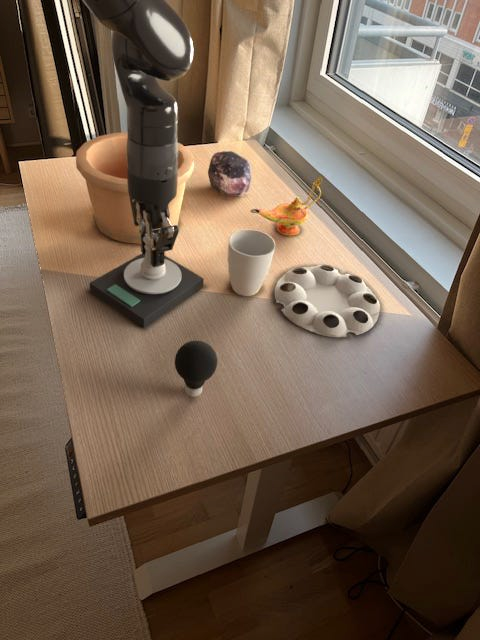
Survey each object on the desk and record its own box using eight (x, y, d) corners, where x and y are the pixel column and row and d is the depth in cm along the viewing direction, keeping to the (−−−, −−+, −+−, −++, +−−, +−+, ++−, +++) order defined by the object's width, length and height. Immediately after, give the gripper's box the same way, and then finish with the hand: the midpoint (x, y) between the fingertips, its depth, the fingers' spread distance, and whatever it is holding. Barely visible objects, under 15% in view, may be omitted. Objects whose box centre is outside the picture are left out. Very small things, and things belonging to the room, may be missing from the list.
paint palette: (252, 289, 95) (254, 280, 94) (324, 256, 106) (326, 248, 104) (330, 353, 85) (332, 345, 84) (400, 310, 96) (404, 302, 94)
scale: (143, 328, 85) (143, 315, 83) (90, 291, 90) (88, 279, 88) (203, 287, 94) (204, 274, 92) (151, 256, 99) (151, 244, 97)
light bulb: (168, 383, 77) (170, 335, 70) (206, 375, 79) (211, 328, 72) (179, 414, 73) (182, 367, 66) (218, 405, 75) (225, 358, 68)
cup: (274, 297, 94) (283, 252, 88) (232, 304, 92) (239, 259, 85) (256, 270, 100) (264, 226, 93) (217, 277, 97) (221, 232, 90)
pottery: (62, 212, 107) (53, 145, 97) (151, 185, 119) (151, 123, 109) (119, 265, 96) (115, 196, 86) (211, 230, 108) (217, 166, 98)
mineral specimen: (252, 174, 124) (257, 145, 115) (245, 210, 120) (249, 182, 111) (212, 167, 124) (213, 137, 115) (203, 202, 120) (204, 173, 111)
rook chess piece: (156, 262, 93) (156, 224, 88) (170, 275, 91) (171, 237, 85) (135, 270, 91) (133, 231, 85) (149, 284, 88) (148, 245, 83)
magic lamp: (238, 231, 109) (244, 183, 102) (304, 214, 117) (315, 169, 110) (255, 248, 105) (263, 200, 98) (323, 229, 113) (335, 184, 106)
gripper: (110, 148, 79) (115, 242, 91) (149, 192, 71) (150, 288, 83) (154, 142, 83) (154, 232, 94) (197, 183, 75) (191, 276, 86)
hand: (152, 258), depth 89 cm, fingers closed on rook chess piece, 3 cm apart
